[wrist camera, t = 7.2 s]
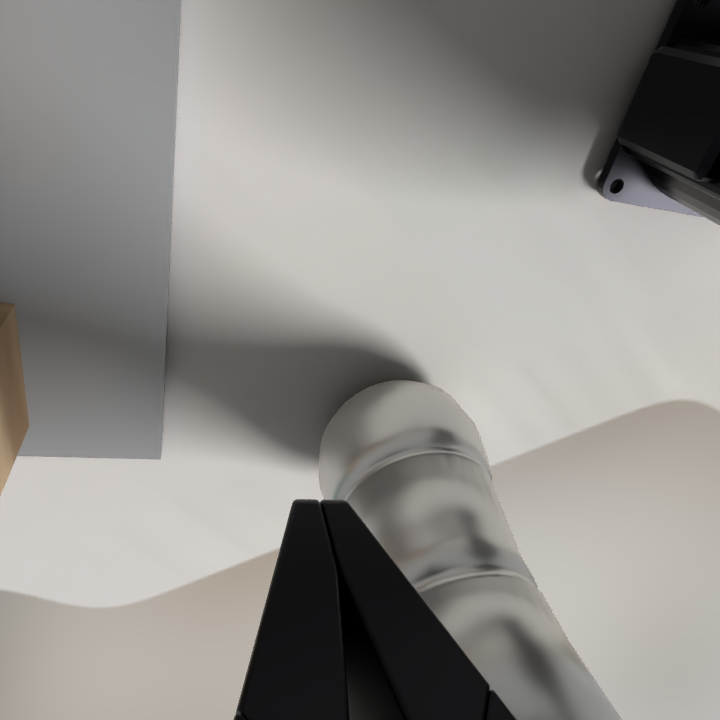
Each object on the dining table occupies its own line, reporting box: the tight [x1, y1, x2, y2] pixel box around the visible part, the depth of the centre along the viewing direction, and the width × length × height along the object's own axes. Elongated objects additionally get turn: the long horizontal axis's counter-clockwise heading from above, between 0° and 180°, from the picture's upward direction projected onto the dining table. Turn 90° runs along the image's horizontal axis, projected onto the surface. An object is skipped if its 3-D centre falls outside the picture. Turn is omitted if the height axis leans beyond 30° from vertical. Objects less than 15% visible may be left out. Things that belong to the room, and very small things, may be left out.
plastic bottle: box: [319, 380, 622, 720], centre depth 16 cm, size 6×7×20 cm
